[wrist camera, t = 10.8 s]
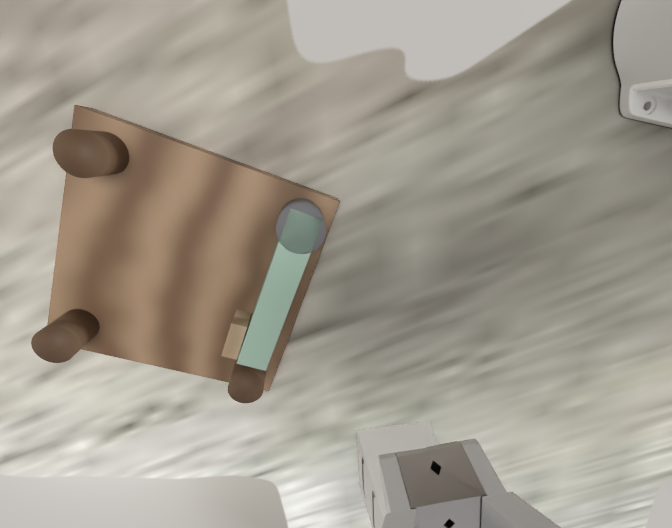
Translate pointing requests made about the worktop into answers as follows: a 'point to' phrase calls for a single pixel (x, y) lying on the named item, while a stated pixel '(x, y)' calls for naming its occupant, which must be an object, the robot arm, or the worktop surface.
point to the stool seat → (165, 252)
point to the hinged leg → (282, 279)
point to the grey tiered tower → (383, 443)
